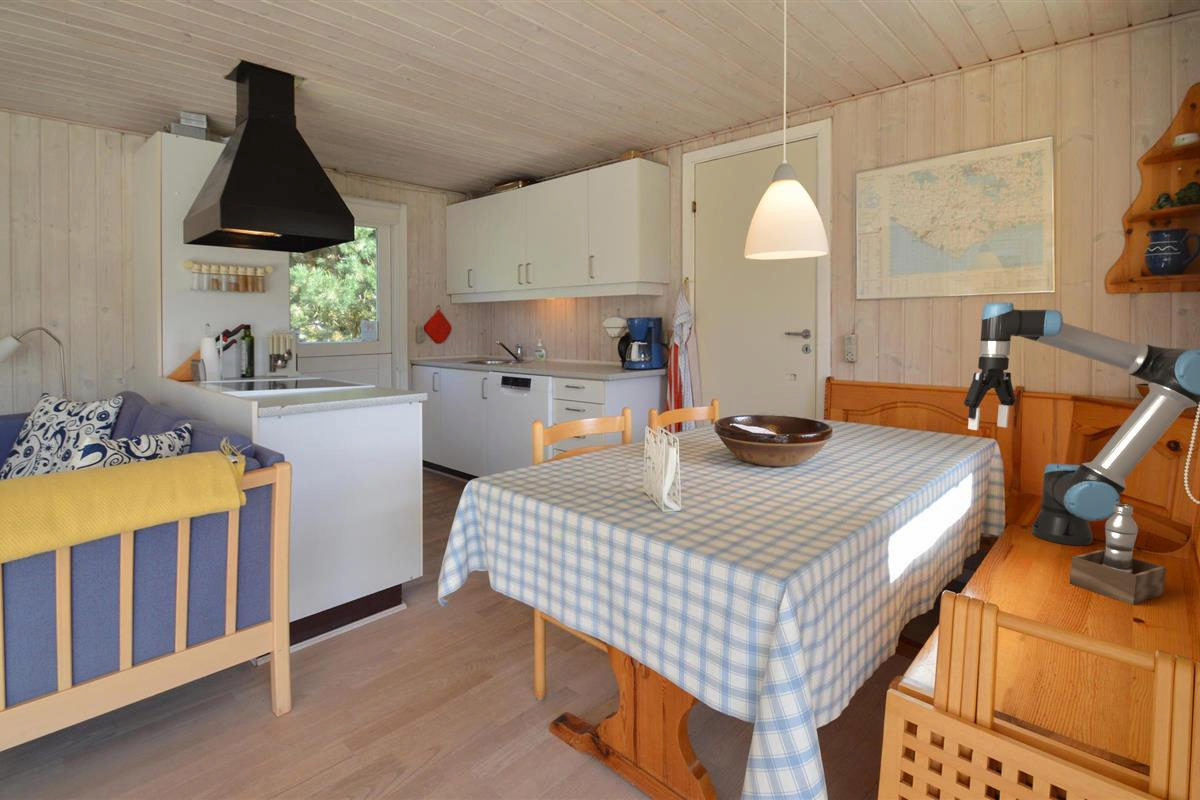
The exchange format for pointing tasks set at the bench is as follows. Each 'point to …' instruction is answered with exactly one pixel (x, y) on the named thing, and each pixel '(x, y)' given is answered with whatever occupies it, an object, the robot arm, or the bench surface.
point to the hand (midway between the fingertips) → (987, 428)
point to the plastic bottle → (1120, 539)
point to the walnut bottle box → (1117, 578)
